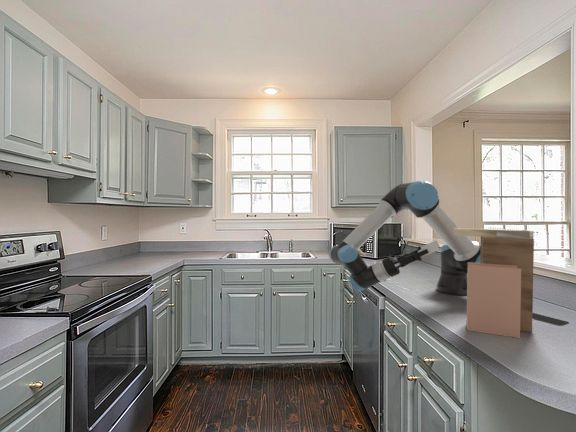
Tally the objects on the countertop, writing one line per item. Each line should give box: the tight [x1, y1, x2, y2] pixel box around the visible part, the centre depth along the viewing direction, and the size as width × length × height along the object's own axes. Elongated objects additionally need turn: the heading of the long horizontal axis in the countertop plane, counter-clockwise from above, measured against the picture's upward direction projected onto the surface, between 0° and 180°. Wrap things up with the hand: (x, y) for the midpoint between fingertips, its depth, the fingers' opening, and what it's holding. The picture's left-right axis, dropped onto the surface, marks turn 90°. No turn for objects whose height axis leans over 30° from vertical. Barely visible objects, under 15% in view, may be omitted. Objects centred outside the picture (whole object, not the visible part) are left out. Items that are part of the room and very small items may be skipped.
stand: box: [480, 228, 535, 333], centre depth 110 cm, size 9×14×32 cm, turn 63°
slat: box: [454, 227, 524, 237], centre depth 114 cm, size 4×20×2 cm, turn 52°
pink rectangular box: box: [466, 262, 521, 339], centre depth 104 cm, size 7×14×21 cm, turn 63°
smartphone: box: [532, 312, 570, 327], centre depth 117 cm, size 7×1×15 cm
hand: (437, 244), depth 119 cm, fingers open, 13 cm apart
